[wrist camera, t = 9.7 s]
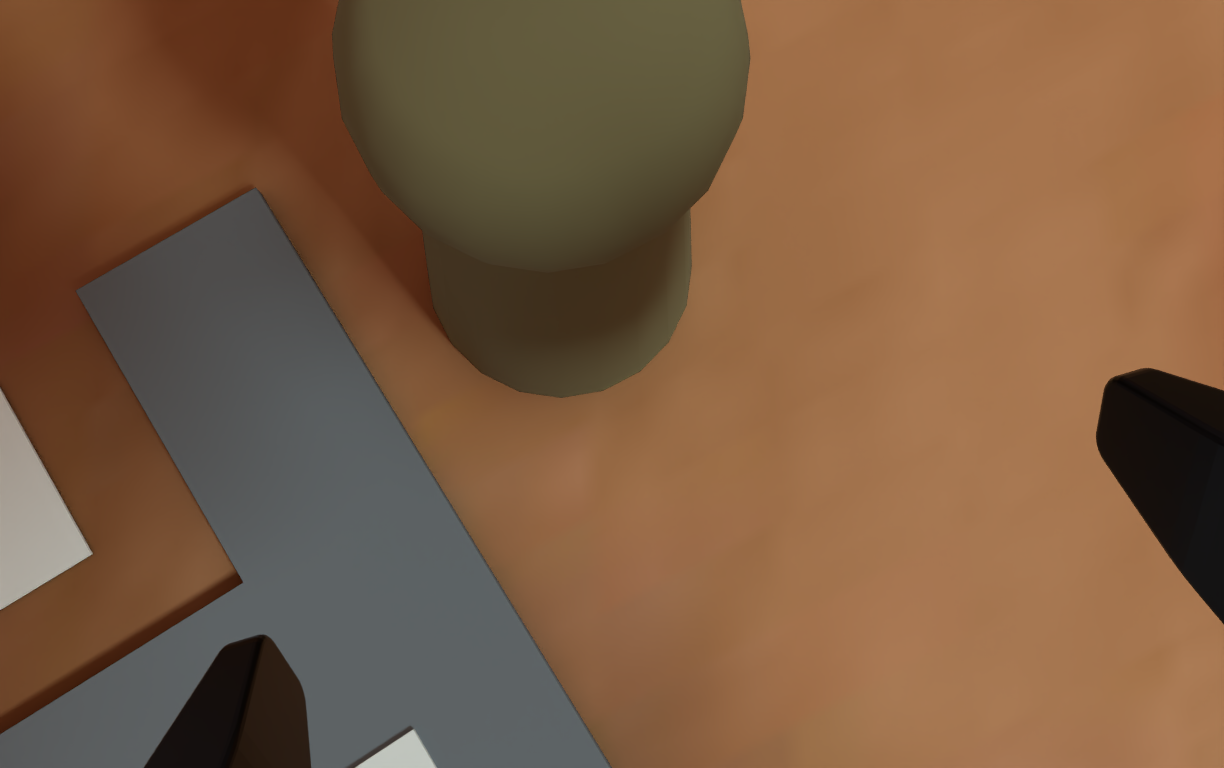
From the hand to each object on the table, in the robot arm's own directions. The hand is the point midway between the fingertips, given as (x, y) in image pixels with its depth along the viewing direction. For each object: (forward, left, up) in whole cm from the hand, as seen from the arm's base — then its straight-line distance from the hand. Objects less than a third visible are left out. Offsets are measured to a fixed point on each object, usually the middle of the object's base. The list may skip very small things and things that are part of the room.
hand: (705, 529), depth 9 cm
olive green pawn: (+6, -2, -11) cm, 12 cm away
